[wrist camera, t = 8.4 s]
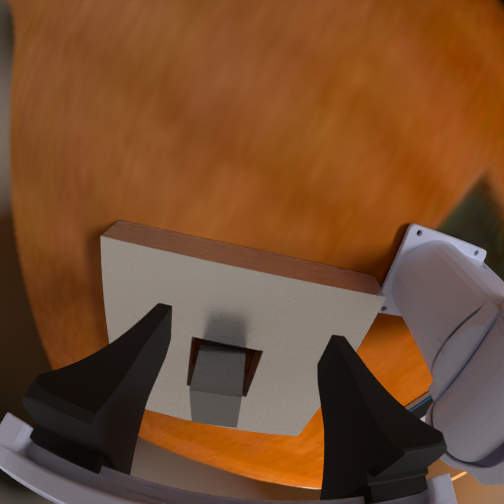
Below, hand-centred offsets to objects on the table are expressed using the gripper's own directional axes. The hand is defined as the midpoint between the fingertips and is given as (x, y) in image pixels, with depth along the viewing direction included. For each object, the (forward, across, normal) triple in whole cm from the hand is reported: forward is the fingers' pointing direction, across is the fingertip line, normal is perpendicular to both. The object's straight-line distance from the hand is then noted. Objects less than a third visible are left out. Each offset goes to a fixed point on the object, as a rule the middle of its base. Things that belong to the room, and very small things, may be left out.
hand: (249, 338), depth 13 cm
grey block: (+9, +1, +10) cm, 14 cm away
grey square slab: (+9, +1, +10) cm, 14 cm away
